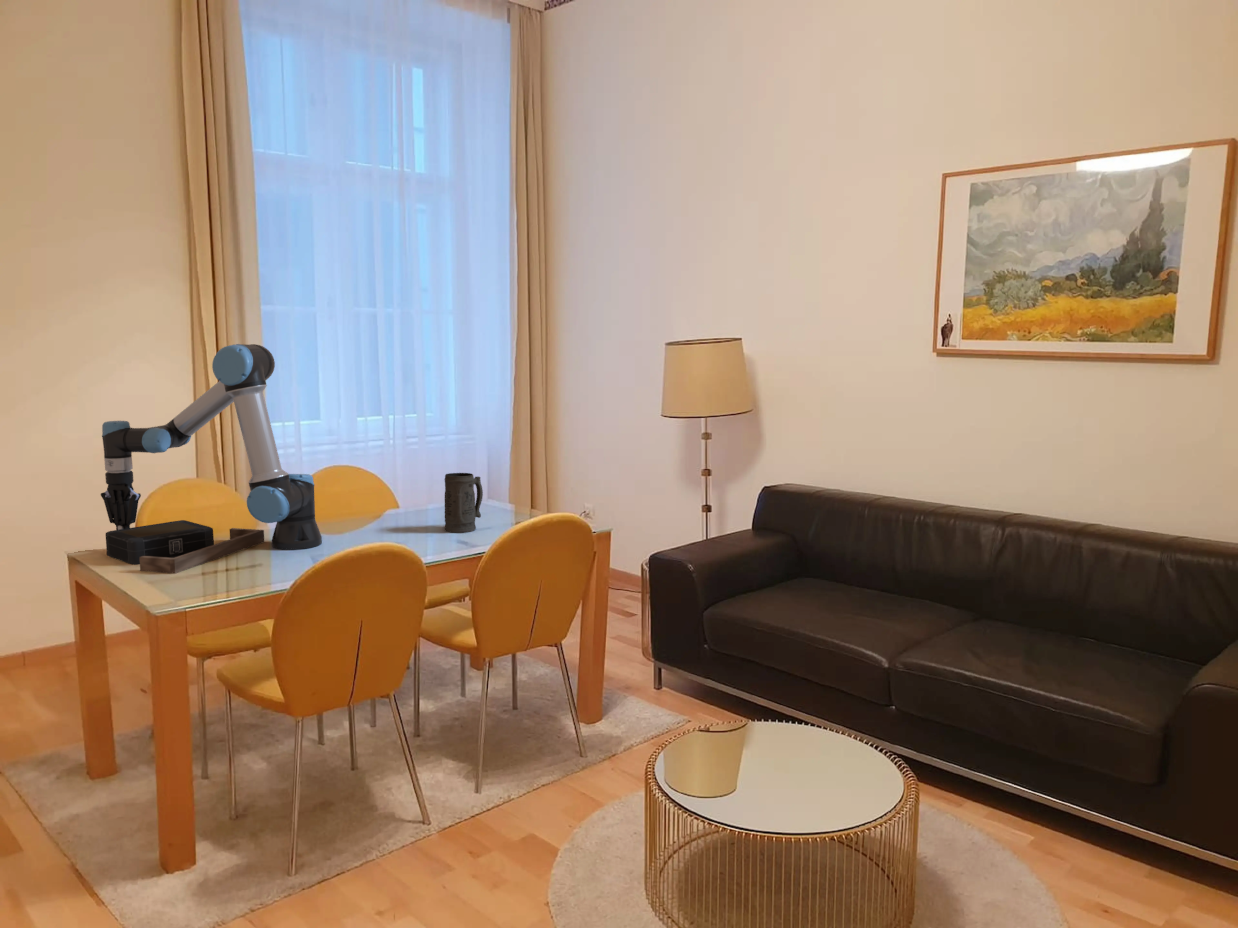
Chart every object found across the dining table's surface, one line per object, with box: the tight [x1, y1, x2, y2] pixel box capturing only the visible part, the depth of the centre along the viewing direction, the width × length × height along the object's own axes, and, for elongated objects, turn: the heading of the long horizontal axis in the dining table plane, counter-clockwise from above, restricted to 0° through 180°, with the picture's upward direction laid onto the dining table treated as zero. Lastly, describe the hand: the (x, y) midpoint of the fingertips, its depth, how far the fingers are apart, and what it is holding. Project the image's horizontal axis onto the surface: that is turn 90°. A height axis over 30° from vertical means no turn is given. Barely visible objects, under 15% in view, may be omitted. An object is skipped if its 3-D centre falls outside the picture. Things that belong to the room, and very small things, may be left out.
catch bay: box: [139, 527, 265, 574], centre depth 278 cm, size 12×41×4 cm, turn 166°
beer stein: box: [444, 472, 484, 534], centre depth 318 cm, size 15×11×20 cm
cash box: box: [105, 519, 215, 566], centre depth 281 cm, size 25×20×8 cm
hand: (124, 545), depth 285 cm, fingers closed
